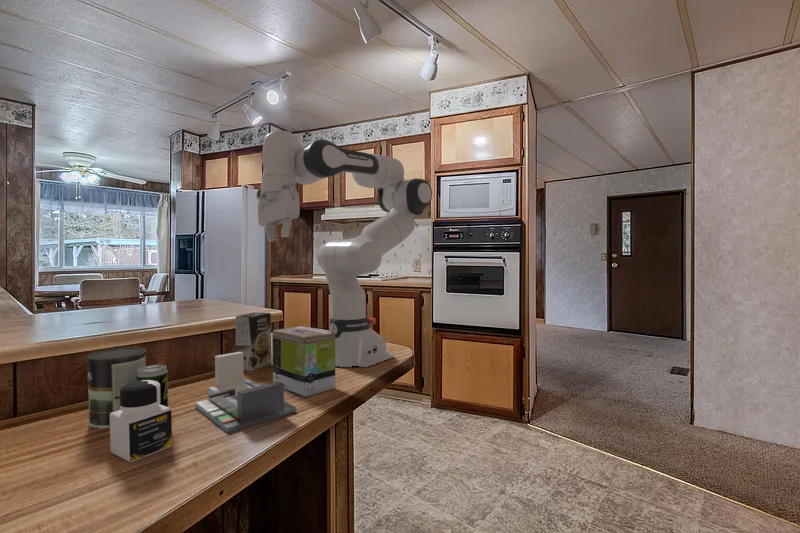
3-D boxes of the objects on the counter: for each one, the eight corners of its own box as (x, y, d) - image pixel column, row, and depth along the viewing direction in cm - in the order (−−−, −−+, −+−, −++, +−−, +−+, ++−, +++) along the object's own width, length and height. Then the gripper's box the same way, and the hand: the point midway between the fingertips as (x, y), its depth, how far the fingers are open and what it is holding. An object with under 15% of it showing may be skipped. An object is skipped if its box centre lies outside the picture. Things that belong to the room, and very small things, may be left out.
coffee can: (81, 432, 80) (79, 361, 80) (96, 413, 90) (94, 349, 89) (143, 424, 84) (141, 355, 84) (151, 406, 94) (149, 345, 93)
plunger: (241, 391, 100) (240, 351, 100) (257, 400, 94) (257, 358, 93) (196, 401, 93) (195, 359, 93) (211, 413, 87) (210, 367, 86)
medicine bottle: (130, 463, 68) (128, 392, 68) (109, 452, 72) (108, 385, 72) (173, 446, 75) (171, 381, 74) (152, 437, 78) (150, 374, 78)
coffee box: (253, 371, 121) (252, 316, 120) (235, 369, 123) (234, 315, 122) (272, 363, 130) (271, 312, 129) (255, 361, 132) (254, 311, 131)
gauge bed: (258, 392, 103) (258, 364, 103) (296, 411, 90) (295, 380, 90) (195, 408, 93) (194, 377, 93) (227, 433, 80) (226, 397, 80)
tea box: (337, 388, 106) (336, 331, 106) (304, 398, 99) (303, 337, 98) (303, 376, 117) (303, 324, 116) (271, 384, 109) (270, 329, 109)
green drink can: (137, 435, 79) (136, 373, 78) (137, 425, 83) (135, 367, 83) (170, 429, 82) (168, 369, 81) (167, 419, 86) (166, 363, 86)
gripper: (306, 182, 107) (305, 235, 106) (275, 197, 123) (274, 243, 122) (283, 178, 104) (282, 233, 103) (254, 194, 119) (253, 241, 118)
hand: (277, 239), depth 113 cm, fingers open, 8 cm apart
